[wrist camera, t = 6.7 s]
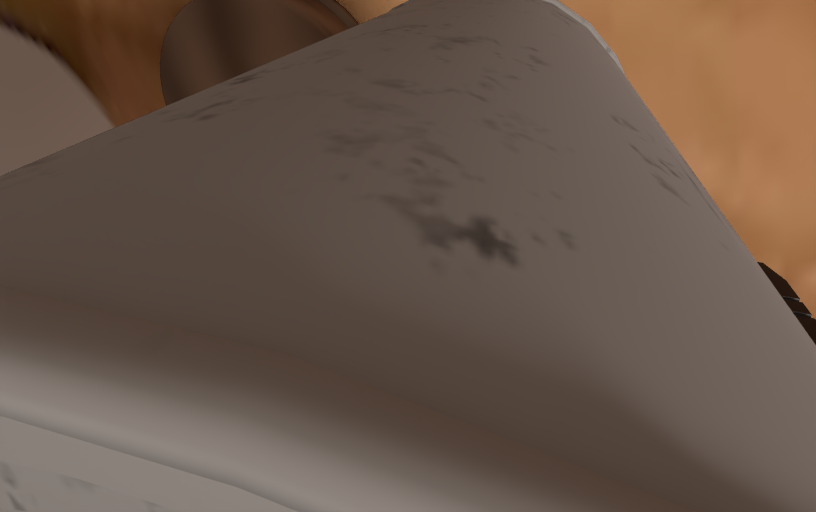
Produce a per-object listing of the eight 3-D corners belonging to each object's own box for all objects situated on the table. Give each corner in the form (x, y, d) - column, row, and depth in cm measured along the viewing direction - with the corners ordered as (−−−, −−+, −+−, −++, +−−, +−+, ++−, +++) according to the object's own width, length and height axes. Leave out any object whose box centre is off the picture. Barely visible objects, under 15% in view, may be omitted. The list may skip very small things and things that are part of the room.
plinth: (388, -17, 25) (361, -12, 21) (388, 197, 34) (369, 228, 30) (177, -29, 28) (119, -26, 24) (228, 173, 37) (191, 199, 33)
